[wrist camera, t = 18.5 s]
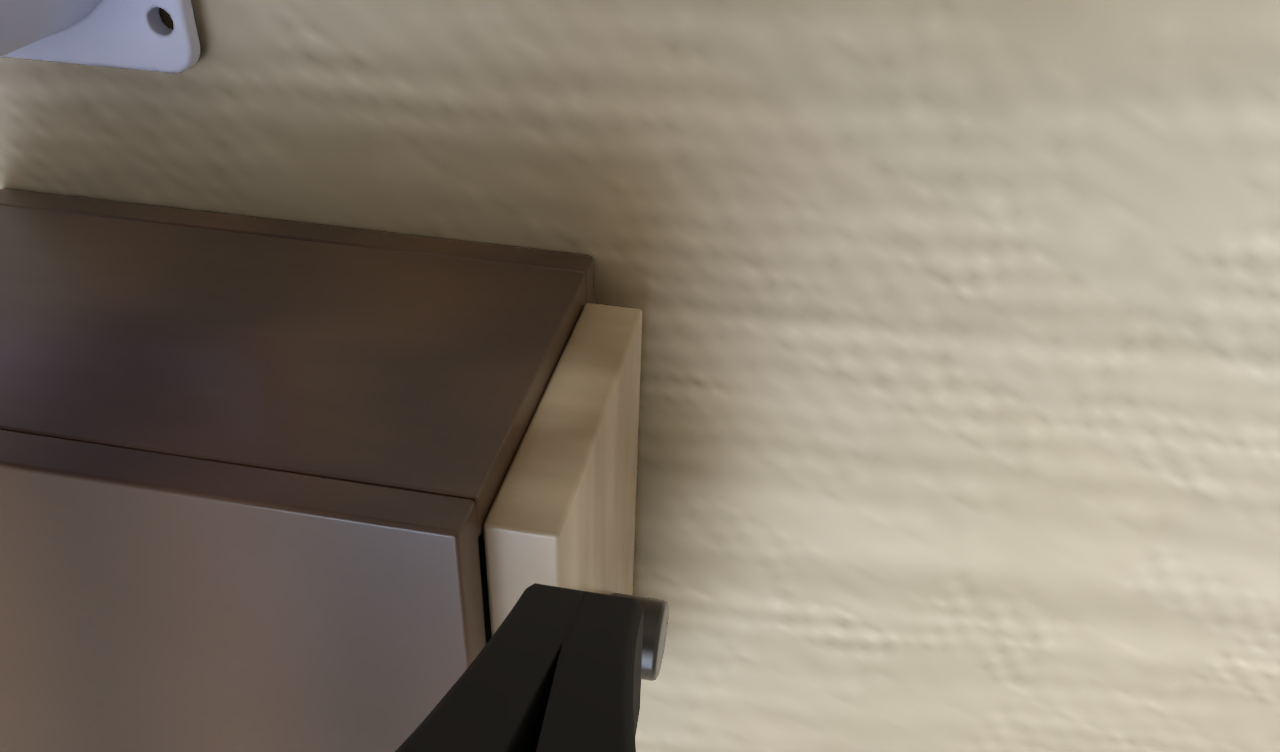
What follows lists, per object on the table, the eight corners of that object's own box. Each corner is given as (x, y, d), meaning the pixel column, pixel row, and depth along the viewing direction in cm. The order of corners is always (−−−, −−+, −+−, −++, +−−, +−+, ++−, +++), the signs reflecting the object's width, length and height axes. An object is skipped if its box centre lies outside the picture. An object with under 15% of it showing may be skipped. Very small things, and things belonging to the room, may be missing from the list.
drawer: (702, 315, 21) (640, 547, 15) (675, 693, 27) (624, 954, 22) (75, 240, 23) (-185, 423, 17) (188, 610, 29) (24, 831, 23)
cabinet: (594, 254, 22) (459, 534, 14) (592, 666, 29) (500, 989, 22) (-1, 186, 23) (-377, 406, 16) (136, 589, 30) (-87, 864, 23)
